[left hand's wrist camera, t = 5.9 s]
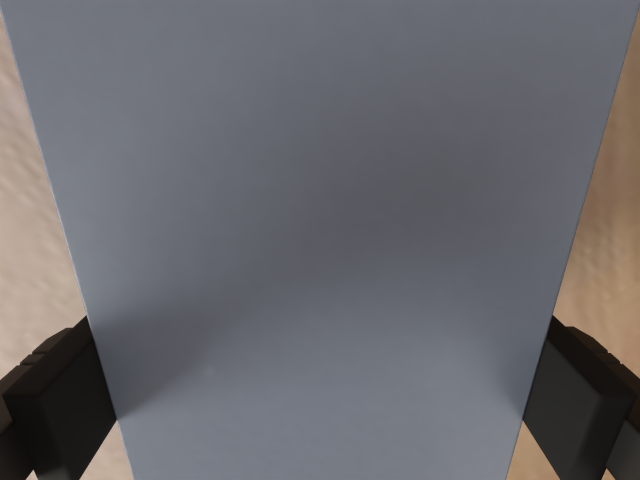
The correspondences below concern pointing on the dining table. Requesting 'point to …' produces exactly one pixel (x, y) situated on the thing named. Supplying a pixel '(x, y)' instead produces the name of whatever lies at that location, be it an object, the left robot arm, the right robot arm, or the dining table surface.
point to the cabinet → (319, 218)
